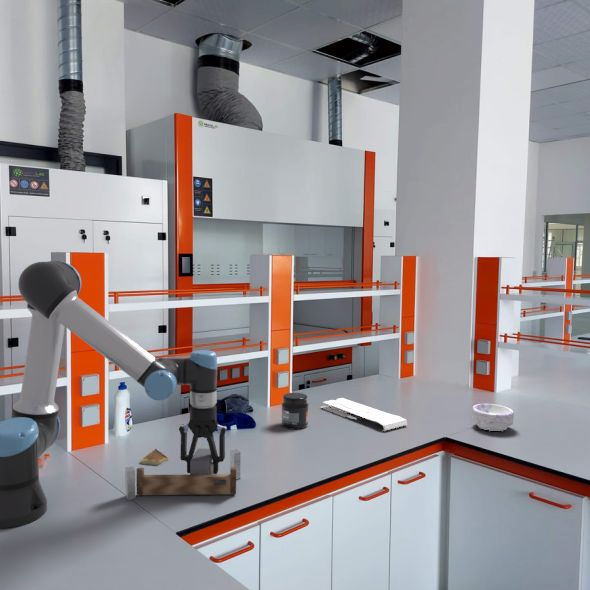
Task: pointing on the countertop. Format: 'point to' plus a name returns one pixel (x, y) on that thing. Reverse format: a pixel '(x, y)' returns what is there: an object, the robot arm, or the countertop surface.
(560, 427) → the countertop surface
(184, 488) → the gate
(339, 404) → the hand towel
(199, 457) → the rubber block
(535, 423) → the countertop surface
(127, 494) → the grey blocks
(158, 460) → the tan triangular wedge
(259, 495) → the countertop surface
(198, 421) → the robot arm
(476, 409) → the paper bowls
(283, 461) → the countertop surface
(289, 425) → the supplement container
